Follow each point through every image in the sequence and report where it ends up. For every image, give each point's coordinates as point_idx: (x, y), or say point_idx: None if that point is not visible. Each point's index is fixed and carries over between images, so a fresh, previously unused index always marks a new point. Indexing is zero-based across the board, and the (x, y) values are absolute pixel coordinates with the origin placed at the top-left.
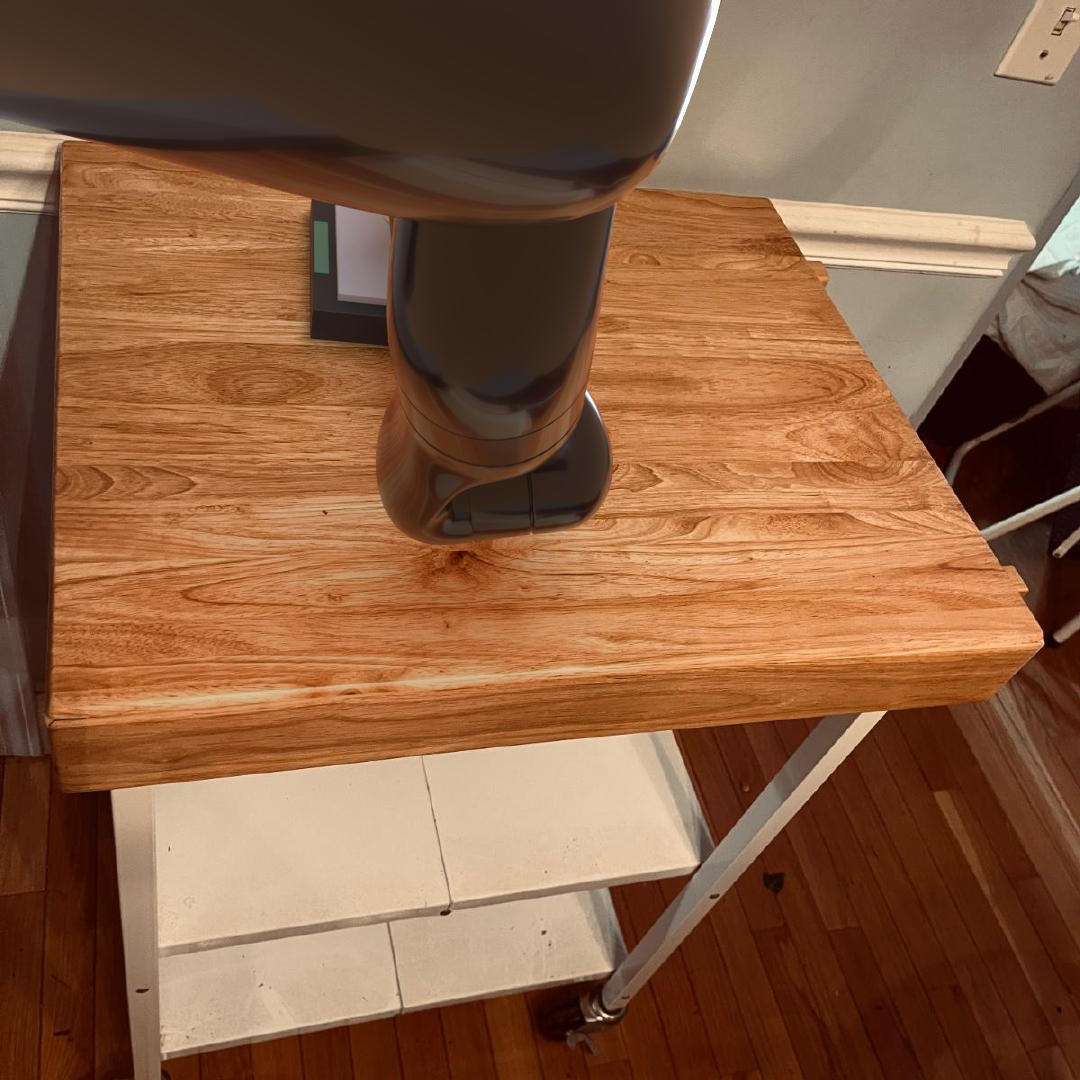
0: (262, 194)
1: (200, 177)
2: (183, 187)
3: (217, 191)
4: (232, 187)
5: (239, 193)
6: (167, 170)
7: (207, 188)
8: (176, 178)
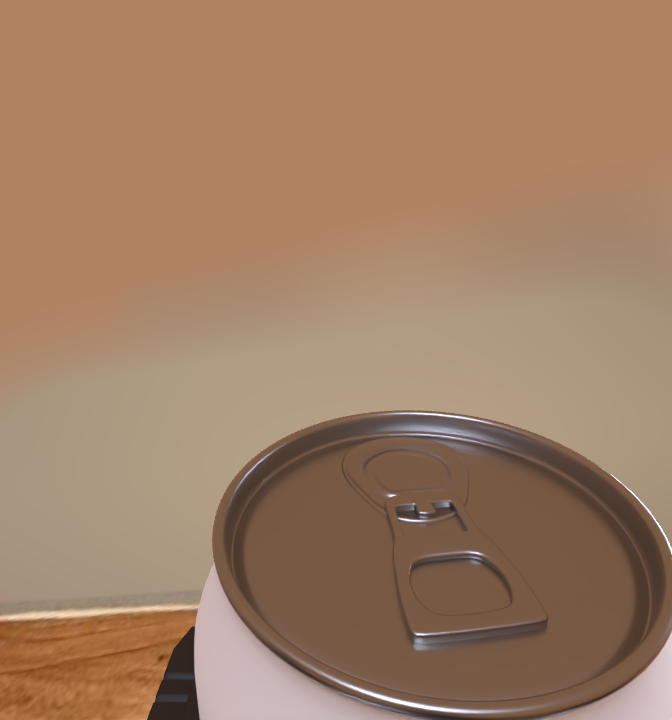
0: (138, 706)
1: (52, 679)
2: (7, 714)
3: (61, 714)
4: (94, 696)
5: (98, 712)
6: (8, 671)
7: (48, 708)
8: (10, 690)
